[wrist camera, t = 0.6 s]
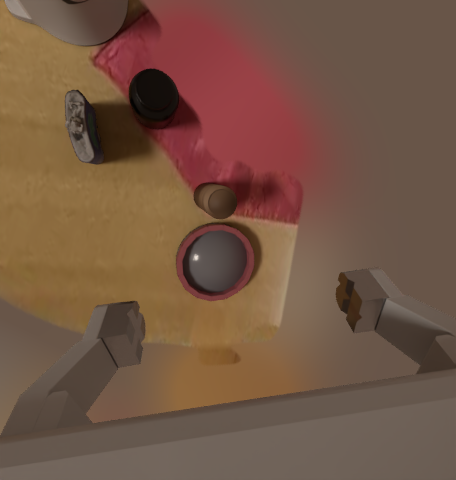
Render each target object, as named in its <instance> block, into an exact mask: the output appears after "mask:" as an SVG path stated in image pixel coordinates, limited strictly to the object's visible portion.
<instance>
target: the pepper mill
mask: <svg viewBox="0 0 456 480" xmlns="http://www.w3.org/2000/svg"><path fill="white" fill-rule="evenodd" d="M194 201H195V203H196V205H197V206H198V207H200V208H201V209H202V210H204V211H205V212H206V213H208V214H209V215H210V216H212V217H213V218H216V219H225V218H228V217H229V216H231V215H232V214H233V213H234V211H235V209H236V206H237V198H236V195H235V193H234V192H233V191H232V190H231V189H230V188H228V187H226V186H221V185H217V184H212V183H203V184H200V185H199V186H198V187H197V188H196V189H195V192H194Z"/></svg>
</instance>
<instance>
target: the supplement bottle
mask: <svg viewBox="0 0 456 480" xmlns="http://www.w3.org/2000/svg"><path fill="white" fill-rule="evenodd" d="M129 99H130V103H131V106H132V109H133V111H134V114H135V116H136V118H137V119H138V120H139V122H140V123H141V124H143V125H144V126H146V127H148V128H150V129H162V128H164V127H166V126H168V125H169V124H170V123H171V122H172V120H173V118H174V116H175V113H176V110H177V108H178V104H179V94H178V90H177V87H176V85H175V83H174V82H173V80H172V79H171V78H170V77H169V76H168V75H167V74H165V73H163V72H162V71H159V70H156V69H151V68H150V69H146V70H143V71H141V72H139V73H138V74H136V75H135V76H134V78H133V79H132V81H131V83H130V86H129Z"/></svg>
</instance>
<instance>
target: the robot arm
mask: <svg viewBox="0 0 456 480" xmlns="http://www.w3.org/2000/svg"><path fill="white" fill-rule="evenodd" d="M4 1H5V3H6V6H7V8H8V9H9V11H10V13H11V14H12V15H13V16H14V17H16V18H18V19H20V20H23V21H26V22H29V23H33V24H36V25H38V26H40V27H42V28H43V29H45V30H46V31H47V32H49V33H50V34H52V35H53V36H55V37H57V38H59V39H61V40H63V41H65V42H68V43H71V44H75V45H82V46H90V45H96V44H100V43H103V42H105V41H107V40H108V39H110V38H111V37H113V36H114V35H115V34H116V33H117V32H118V30H119V29H120V28H121V26H122V24H123V22H124V20H125V17H126V13H127V8H128V0H4ZM338 281H339V282H340V285H339V286H338V287H337V288H336V300H337V303H338V306H339V308H340V310H341V311H343V312H344V313H346V314H347V317H346V320H347V322H348V324H349V326H350V327H351V329H352V331H353V333H358V332H367V331H375V332H376V333H378V334H379V335H380V336H382V337H383V338H384V339H386V340H387V341H388V342H390V343H391V344H392V345H394V346H395V347H396V348H398V349H399V350H401V351H402V352H403V353H404V354H406V355H407V356H408V357H410V358H411V359H412V360H414V361H415V362H416V363H418V364H419V365H420V367H419V369H418V371H417V373H416V374H415V375H409V376H403V377H396V378H389V379H382V380H376V381H369V382H362V383H356V384H349V385H343V386H336V387H330V388H323V389H316V390H309V391H304V392H296V393H290V394H284V395H277V396H270V397H263V398H257V399H250V400H244V401H237V402H230V403H224V404H217V405H211V406H204V407H198V408H191V409H184V410H178V411H171V412H165V413H158V414H151V415H145V416H138V417H132V418H125V419H118V420H111V421H105V422H98V423H92V421H91V420H90V419H89V418H88V417H87V416H86V413H87V411H88V410H89V409H90V407H91V406H92V404H93V403H94V402H95V400H96V399H97V397H98V396H99V395H100V393H101V392H102V391H103V389H104V388H105V386H106V385H107V384H108V382H109V381H110V380H111V378H112V377H113V375H114V374H115V373H116V371H117V370H118V368H120V367H125V366H131V365H136V364H140V362H141V356H142V351H143V347H142V345H141V342H142V341H143V339H144V338H145V320H144V317H143V315H142V314H141V313H139V308H140V307H139V304H138V302H137V301H129V302H120V303H111V304H104V305H97V306H96V307H95V308H94V310H93V313H92V316H91V318H90V321H89V323H88V326H87V329H86V331H85V334H84V337H83V339H82V341H79V342H77V343H76V344H75V345H74V346H73V347H72V348H71V349H70V350H68V352H66V353H65V355H63V356H62V357H61V358H60V359H59V360H58V361H57V362H56V363H55V364H54V365H52V366H51V367H50V368H49V369H48V370H47V371H46V372H45V373H44V374H43V375H42V376H41V377H40V378H39V379H38V380H36V381H35V382H34V383H33V384H32V385H31V386H30V387H29V388H28V389H27V390H26V391H25V392H24V393H23V394H21V396H20V397H19V399H18V401H17V403H16V405H15V407H14V409H13V411H12V413H11V415H10V417H9V419H8V421H7V423H6V425H5V427H4V429H3V431H2V433H1V435H0V480H456V318H454V317H451V316H449V315H447V314H445V313H443V312H441V311H439V310H437V309H435V308H433V307H431V306H429V305H427V304H425V303H423V302H421V301H418V300H416V299H414V298H412V297H410V296H408V295H406V296H404V295H403V294H402V293H401V292H400V291H399V289H398V288H397V287H396V286H395V285H394V283H393V282H392V281H391V280H390V279H389V278H388V276H387V275H386V274H385V273H384V272H383V271H382V270H381V268H379V267H375V268H368V269H362V270H355V271H348V272H341V273H340V274H339V278H338Z"/></svg>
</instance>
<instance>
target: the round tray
mask: <svg viewBox="0 0 456 480" xmlns="http://www.w3.org/2000/svg"><path fill="white" fill-rule="evenodd" d="M253 252H254V251H253V249H252V247H251V244H250V242H249V240H248V239H247V238H246V237H245V236H244V235H243V234H242V233H241V232H240V231H239V230H237V229H236V228H234V227H231V226H229V225H226V224H222V223H209V224H205V225H202V226H199V227H197V228H196V229H194V230H192V231H191V232H190V233H189V234H188V235H187V236H186V237H185V238H184V239H183V241H182V242H181V244H180V246H179V248H178V251H177V255H176V268H177V275H178V277H179V279H180V281H181V283H182V285H183V287H184V288H185V290H187V291H188V292H189V293H191V294H192V295H193V296H195V297H197V298H200V299H204V300H208V301H216V300H223V299H225V298H226V299H227V298H228V297H230V296H232V295H234V294H236V293H238V291H240V290H241V289H242V288H243V287H244V285H245V284H246V283H247V282H248V280H249V279H250V276H251V274H252V271H253V269H254V253H253Z"/></svg>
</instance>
